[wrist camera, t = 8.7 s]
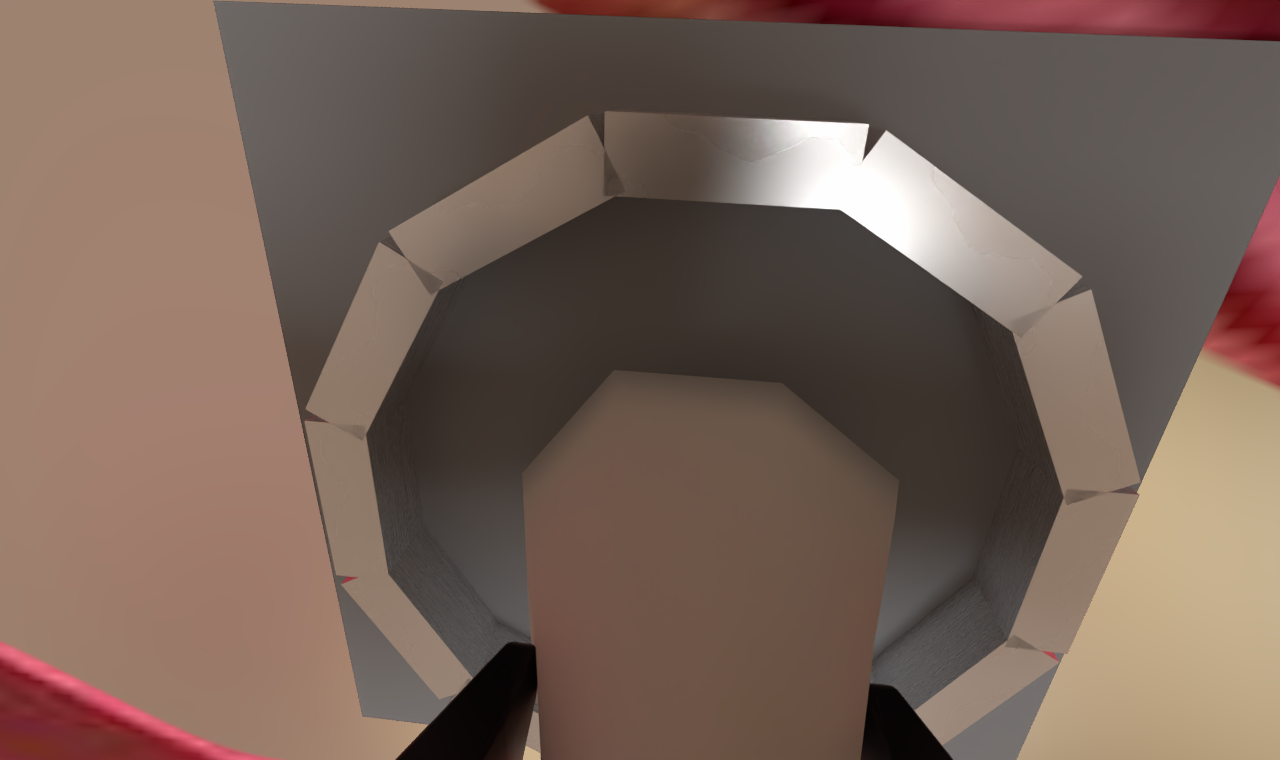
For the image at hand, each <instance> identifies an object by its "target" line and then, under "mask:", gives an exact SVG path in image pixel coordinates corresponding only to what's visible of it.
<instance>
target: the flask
mask: <svg viewBox="0 0 1280 760" xmlns="http://www.w3.org/2000/svg"><path fill="white" fill-rule="evenodd" d="M522 482H523V503H524V524H525V545H526V566H527V587H528V606H529V623H530V633H531V644H533V645H534V646H535V648H536V664H537V694H536V695H537V705H538V716H539V732H540V751H541V760H861V751H862V743H863V734H864V726H865V718H866V709H867V701H868V692H869V684H870V675H871V667H872V659H873V650H874V642H875V636H876V630H877V624H878V618H879V612H880V606H881V600H882V593H883V587H884V581H885V575H886V569H887V563H888V557H889V551H890V545H891V539H892V533H893V527H894V521H895V513H896V504H897V496H898V487H899V480H898V479H897V478H895V477H894V476H893V475H892V474H891V473H889V472H888V471H887V470H886V469H885V468H883V467H882V466H881V465H880V464H879V463H877V462H876V461H875V460H874V459H873V458H871V457H870V456H869V455H868V454H867V453H865V452H864V451H863V450H862V449H861V448H859V447H858V446H857V445H856V444H855V443H853V442H852V441H851V440H850V439H849V438H847V437H846V436H845V435H844V434H843V433H841V432H840V431H839V430H838V429H837V428H835V427H834V426H833V425H832V424H831V423H829V422H828V421H827V420H826V419H825V418H823V417H822V416H821V415H820V414H819V413H817V412H816V411H815V410H814V409H813V408H811V407H810V406H809V405H808V404H807V403H805V402H804V401H803V400H802V399H801V398H799V397H798V396H797V395H796V394H795V393H793V392H792V391H791V390H790V389H789V388H787V387H786V386H785V385H784V384H783V383H776V382H763V381H750V380H738V379H725V378H712V377H699V376H686V375H673V374H660V373H648V372H635V371H622V370H614V371H613V372H612V373H611V374H610V375H609V376H608V377H607V378H606V380H605V381H604V382H603V383H602V384H601V385H600V386H599V387H598V389H597V390H596V391H595V392H594V393H593V394H592V395H591V396H590V398H589V399H588V400H587V401H586V402H585V403H584V404H583V405H582V406H581V408H580V409H579V410H578V411H577V412H576V413H575V414H574V415H573V417H572V418H571V419H570V420H569V421H568V422H567V423H566V424H565V426H564V427H563V428H562V429H561V430H560V431H559V432H558V433H557V435H556V436H555V437H554V438H553V439H552V440H551V441H550V442H549V443H548V445H547V446H546V447H545V448H544V449H543V450H542V451H541V452H540V454H539V455H538V456H537V457H536V458H535V459H534V460H533V461H532V463H531V464H530V465H529V466H528V467H527V468H526V469H525V470H524V472H523V473H522Z"/></svg>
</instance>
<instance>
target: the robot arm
mask: <svg viewBox="0 0 1280 760" xmlns="http://www.w3.org/2000/svg"><path fill="white" fill-rule="evenodd" d="M536 694H537V664H536V648H535V646H534V645H533V644H531V643H523V642H514V641H512V642H508V643H507V644H505V645H504V646H503V647H502V648H501V649H500V650H499V651H498V653H497V654H496V655H495V656H494V657H493V658H492V659H491V660H490V661H489V662H488V663H487V664H486V665H485V666H484V667H483V668H482V669H481V670H480V671H479V673H478V674H477V675H476V676H475V677H474V678H473V679H472V680H471V681H470V682H469V683H468V684H467V685H466V686H465V687H464V688H463V689H462V690H461V691H460V692H459V694H458V695H457V696H456V697H455V698H454V699H453V700H452V701H451V702H450V703H449V704H448V705H447V706H446V707H445V708H444V709H443V710H442V711H441V712H440V713H439V715H438V716H437V717H436V718H435V719H434V720H433V721H432V722H431V723H430V724H429V725H428V726H427V727H426V728H425V729H424V730H423V731H422V732H421V733H420V734H419V736H418V737H417V738H416V739H415V740H414V741H413V742H412V743H411V744H410V745H409V746H408V747H407V748H406V749H405V750H404V751H403V752H402V753H401V755H399V757H398V758H397V759H396V760H523V755H524V750H525V746H526V741H527V737H528V732H529V728H530V723H531V718H532V714H533V709H534V705H535V700H536ZM861 760H954V759H953V758H952V757H951V756H950V754H949V753H948V752H947V751H946V750H945V748H944V747H943V746H942V745H941V743H940V742H939V741H938V740H937V738H936V737H935V736H934V735H933V733H932V732H931V731H930V730H929V728H928V727H927V726H926V725H925V723H924V722H923V721H922V720H921V718H920V717H919V716H918V715H917V713H916V712H915V711H914V710H913V708H912V707H911V706H910V705H909V703H908V702H907V701H906V700H905V698H904V697H903V696H902V695H901V693H900V692H899V691H898V690H897V689H896V688H895V687H893V686H890V685H884V684H876V683H870V684H869V692H868V701H867V709H866V718H865V726H864V734H863V743H862V751H861Z"/></svg>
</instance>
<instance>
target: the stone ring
mask: <svg viewBox="0 0 1280 760" xmlns="http://www.w3.org/2000/svg"><path fill="white" fill-rule="evenodd" d="M615 196H619V197H636V198H653V199H670V200H686V201H703V202H720V203H737V204H754V205H770V206H787V207H804V208H821V209H838V210H842V211H843V212H845V213H846V214H848V215H849V216H850V217H852V218H853V219H855V220H856V221H858V222H859V223H860V224H862V225H863V226H865V227H866V228H867V229H869V230H870V231H872V232H873V233H874V234H876V235H877V236H879V237H880V238H881V239H883V240H884V241H886V242H887V243H888V244H890V245H891V246H893V247H894V248H895V249H897V250H898V251H900V252H901V253H902V254H904V255H905V256H907V257H908V258H910V259H911V260H912V261H914V262H915V263H917V264H918V265H919V266H921V267H922V268H924V269H925V270H926V271H928V272H929V273H931V274H932V275H933V276H935V277H936V278H938V279H939V280H940V281H942V282H943V283H945V284H946V285H947V286H949V287H950V288H952V289H953V290H954V291H956V292H957V293H959V294H960V295H961V296H963V297H964V298H966V299H967V300H969V301H970V304H971V307H972V310H973V313H974V316H975V319H976V322H977V325H978V328H979V331H980V334H981V337H982V340H983V343H984V346H985V349H986V352H987V355H988V358H989V361H990V364H991V367H992V370H993V373H994V376H995V379H996V382H997V385H998V388H999V391H1000V394H1001V397H1002V400H1003V403H1004V407H1005V410H1006V413H1007V416H1008V419H1009V422H1010V425H1011V428H1012V431H1013V434H1014V437H1015V440H1016V443H1017V449H1016V452H1015V455H1014V458H1013V461H1012V463H1011V466H1010V469H1009V472H1008V475H1007V478H1006V481H1005V484H1004V487H1003V490H1002V493H1001V496H1000V498H999V501H998V504H997V507H996V510H995V513H994V516H993V519H992V522H991V525H990V528H989V531H988V534H987V536H986V539H985V542H984V545H983V548H982V551H981V554H980V557H979V560H978V563H977V566H976V569H975V571H974V574H973V577H972V578H971V579H970V580H969V581H967V582H966V583H965V584H964V585H963V586H961V587H960V588H959V589H958V590H957V591H955V592H954V593H953V594H952V595H951V596H949V597H948V598H947V599H946V600H945V601H943V602H942V603H941V604H940V605H939V606H937V607H936V608H935V609H934V610H933V611H931V612H930V613H929V614H928V615H926V616H925V617H924V618H923V619H922V620H920V621H919V622H918V623H917V624H916V625H914V626H913V627H912V628H911V629H910V630H908V631H907V632H906V633H905V634H904V635H902V636H901V637H900V638H899V639H898V640H896V641H895V642H894V643H893V644H892V645H890V646H889V647H888V648H887V649H886V650H884V651H883V652H882V653H881V654H880V655H878V656H877V657H876V658H875V659H874V660H872V667H871V675H870V683H876V684H884V685H890V686H893V687H895V688H896V689H897V690H898V691H899V692H900V693H901V695H902V696H903V697H904V698H905V700H906V701H907V702H908V703H909V705H910V706H911V707H912V708H913V710H914V711H915V712H916V713H917V715H918V716H919V717H920V718H921V720H922V721H923V722H924V723H925V725H926V726H927V727H928V728H929V730H930V731H931V732H932V733H933V735H934V736H935V737H936V738H937V740H938V741H939V742H940V743H941V745H944V744H945V743H946V742H948V741H949V740H951V739H952V738H953V737H955V736H956V735H958V734H959V733H961V732H962V731H963V730H965V729H966V728H968V727H969V726H970V725H972V724H973V723H975V722H976V721H978V720H979V719H980V718H982V717H983V716H985V715H986V714H987V713H989V712H990V711H992V710H993V709H995V708H996V707H997V706H999V705H1000V704H1002V703H1003V702H1004V701H1006V700H1007V699H1009V698H1010V697H1012V696H1013V695H1014V694H1016V693H1017V692H1019V691H1020V690H1021V689H1023V688H1024V687H1026V686H1027V685H1028V684H1030V683H1031V682H1033V681H1034V680H1036V679H1037V678H1038V677H1040V676H1041V675H1043V674H1044V673H1045V672H1047V671H1048V670H1050V669H1051V668H1053V667H1054V666H1055V665H1057V664H1058V663H1060V662H1059V661H1058V659H1057V657H1056V656H1055V654H1054V653H1053V652H1056V653H1066V654H1067V653H1068V651H1069V649H1070V647H1071V645H1072V642H1073V640H1074V638H1075V636H1076V633H1077V631H1078V629H1079V627H1080V625H1081V623H1082V620H1083V618H1084V616H1085V614H1086V611H1087V609H1088V607H1089V605H1090V603H1091V601H1092V598H1093V596H1094V594H1095V592H1096V590H1097V587H1098V585H1099V583H1100V581H1101V578H1102V576H1103V574H1104V572H1105V570H1106V568H1107V565H1108V563H1109V561H1110V559H1111V556H1112V554H1113V552H1114V550H1115V547H1116V545H1117V543H1118V541H1119V539H1120V537H1121V534H1122V532H1123V530H1124V528H1125V526H1126V523H1127V521H1128V519H1129V517H1130V515H1131V512H1132V510H1133V508H1134V506H1135V504H1136V501H1137V499H1138V497H1139V494H1138V493H1137V492H1136V491H1134V490H1133V489H1132V488H1131V487H1130V486H1131V485H1134V484H1137V483H1140V482H1141V481H1140V477H1139V473H1138V469H1137V465H1136V462H1135V458H1134V454H1133V450H1132V446H1131V442H1130V438H1129V434H1128V430H1127V426H1126V423H1125V419H1124V415H1123V411H1122V407H1121V403H1120V399H1119V395H1118V391H1117V387H1116V384H1115V380H1114V376H1113V372H1112V368H1111V364H1110V360H1109V356H1108V352H1107V348H1106V344H1105V341H1104V337H1103V333H1102V329H1101V325H1100V321H1099V317H1098V313H1097V309H1096V305H1095V302H1094V298H1093V294H1092V290H1091V289H1090V288H1088V287H1086V286H1084V285H1082V284H1080V283H1077V282H1078V281H1079V280H1080V279H1081V278H1082V277H1083V276H1081V275H1080V274H1079V273H1077V272H1076V271H1075V270H1073V269H1072V268H1071V267H1069V266H1068V265H1067V264H1065V263H1064V262H1063V261H1061V260H1060V259H1059V258H1057V257H1056V256H1055V255H1053V254H1052V253H1050V252H1049V251H1048V250H1046V249H1045V248H1044V247H1042V246H1041V245H1040V244H1038V243H1037V242H1036V241H1034V240H1033V239H1032V238H1030V237H1029V236H1028V235H1026V234H1025V233H1024V232H1022V231H1021V230H1020V229H1018V228H1017V227H1016V226H1014V225H1013V224H1012V223H1010V222H1009V221H1008V220H1006V219H1005V218H1004V217H1002V216H1001V215H999V214H998V213H997V212H995V211H994V210H993V209H991V208H990V207H989V206H987V205H986V204H985V203H983V202H982V201H981V200H979V199H978V198H977V197H975V196H974V195H973V194H971V193H970V192H969V191H967V190H966V189H965V188H963V187H962V186H961V185H959V184H958V183H957V182H955V181H954V180H953V179H951V178H950V177H949V176H947V175H946V174H944V173H943V172H942V171H940V170H939V169H938V168H936V167H935V166H934V165H932V164H931V163H930V162H928V161H927V160H926V159H924V158H923V157H922V156H920V155H919V154H918V153H916V152H915V151H914V150H912V149H911V148H910V147H908V146H907V145H906V144H904V143H903V142H902V141H900V140H899V139H898V138H896V137H895V136H893V135H892V134H891V133H889V132H888V131H887V130H882V129H876V128H869V124H864V123H857V122H850V121H843V120H822V119H802V118H782V117H761V116H741V115H721V114H700V113H680V112H660V111H639V110H611V111H605V113H603V114H594V115H587V116H586V117H584V118H582V119H580V120H579V121H577V122H575V123H574V124H572V125H570V126H568V127H567V128H565V129H563V130H562V131H560V132H558V133H556V134H555V135H553V136H551V137H549V138H548V139H546V140H544V141H543V142H541V143H539V144H537V145H536V146H534V147H532V148H531V149H529V150H527V151H525V152H524V153H522V154H520V155H519V156H517V157H515V158H513V159H512V160H510V161H508V162H507V163H505V164H503V165H501V166H500V167H498V168H496V169H494V170H493V171H491V172H489V173H488V174H486V175H484V176H482V177H481V178H479V179H477V180H476V181H474V182H472V183H470V184H469V185H467V186H465V187H464V188H462V189H460V190H458V191H457V192H455V193H453V194H452V195H450V196H448V197H446V198H445V199H443V200H441V201H439V202H438V203H436V204H434V205H433V206H431V207H429V208H427V209H426V210H424V211H422V212H421V213H419V214H417V215H415V216H414V217H412V218H410V219H409V220H407V221H405V222H403V223H402V224H400V225H398V226H397V227H395V228H393V229H391V230H390V231H389V233H390V234H391V237H389V238H387V239H384V240H382V241H380V242H379V243H378V245H377V247H376V250H375V252H374V254H373V257H372V259H371V261H370V263H369V266H368V268H367V270H366V272H365V275H364V277H363V279H362V282H361V284H360V286H359V288H358V291H357V293H356V295H355V297H354V300H353V302H352V304H351V306H350V309H349V311H348V313H347V316H346V318H345V320H344V322H343V325H342V327H341V329H340V331H339V334H338V336H337V338H336V341H335V343H334V345H333V347H332V350H331V352H330V354H329V356H328V359H327V361H326V363H325V365H324V368H323V370H322V372H321V375H320V377H319V379H318V381H317V384H316V386H315V388H314V390H313V393H312V395H311V397H310V400H309V402H308V404H307V406H306V410H308V411H309V412H311V413H313V414H312V415H311V416H309V417H308V418H307V419H306V420H304V422H305V427H306V432H307V436H308V441H309V446H310V451H311V456H312V461H313V466H314V470H315V475H316V480H317V485H318V490H319V495H320V500H321V504H322V509H323V514H324V519H325V524H326V529H327V534H328V538H329V543H330V548H331V553H332V558H333V563H334V568H335V572H336V575H340V576H347V577H346V578H345V580H344V581H343V582H342V584H341V585H342V586H343V588H344V589H345V590H346V591H347V592H348V593H349V595H350V596H351V597H352V598H353V599H354V600H355V602H356V603H357V604H358V605H359V606H360V607H361V609H362V610H363V611H364V612H365V613H366V614H367V616H368V617H369V618H370V619H371V620H372V621H373V623H374V624H375V625H376V626H377V627H378V628H379V630H380V631H381V632H382V633H383V634H384V636H385V637H386V638H387V639H388V640H389V641H390V643H391V644H392V645H393V646H394V647H395V648H396V650H397V651H398V652H399V653H400V654H401V655H402V657H403V658H404V659H405V660H406V661H407V662H408V664H409V665H410V666H411V667H412V668H413V669H414V671H415V672H416V673H417V674H418V675H419V677H420V678H421V679H422V680H423V681H424V682H425V684H426V685H427V686H428V687H429V688H430V689H431V691H432V692H433V693H434V694H435V695H436V696H437V698H438V699H442V698H445V697H448V696H451V695H452V696H451V698H450V700H449V703H450V702H451V701H452V700H453V699H454V698H455V697H456V696H457V695H458V694H459V692H460V691H461V690H462V689H463V688H464V687H465V686H466V685H467V684H468V683H469V682H470V681H471V680H472V679H473V678H474V677H475V676H476V675H477V674H478V673H479V671H480V670H481V669H482V668H483V667H484V666H485V665H486V664H487V663H488V662H489V661H490V660H491V659H492V658H493V657H494V656H495V655H496V654H497V653H498V651H499V650H500V649H501V648H502V647H503V646H504V645H505V644H507V643H508V642H512V641H514V642H523V643H531V639H530V638H528V637H526V636H524V635H522V634H520V633H519V632H517V631H515V630H513V629H511V628H509V627H507V626H505V625H504V624H502V623H500V622H499V621H498V620H497V619H496V617H495V616H494V615H493V613H492V612H491V611H490V609H489V608H488V607H487V605H486V604H485V603H484V601H483V600H482V599H481V598H480V596H479V595H478V594H477V592H476V591H475V590H474V588H473V587H472V586H471V584H470V583H469V582H468V580H467V579H466V578H465V576H464V575H463V574H462V573H461V571H460V570H459V569H458V567H457V566H456V565H455V563H454V562H453V561H452V559H451V558H450V557H449V555H448V554H447V553H446V551H445V550H444V549H443V548H442V546H441V545H440V544H439V542H438V541H437V540H436V538H435V537H434V536H433V534H432V533H431V532H430V530H429V529H428V528H427V526H426V525H425V524H424V523H423V516H422V508H421V500H420V492H419V484H418V476H417V468H416V460H415V452H414V444H413V436H412V428H411V420H410V412H409V404H408V396H407V394H408V392H409V390H410V388H411V386H412V384H413V382H414V380H415V378H416V376H417V375H418V373H419V371H420V369H421V367H422V365H423V363H424V361H425V359H426V357H427V355H428V354H429V352H430V350H431V348H432V346H433V344H434V342H435V340H436V338H437V336H438V334H439V333H440V331H441V329H442V327H443V325H444V323H445V321H446V319H447V317H448V315H449V313H450V311H451V310H452V308H453V306H454V304H455V302H456V300H457V298H458V296H459V294H460V292H461V290H462V289H463V287H464V285H465V283H466V281H467V279H468V277H469V275H470V273H472V272H474V271H476V270H478V269H480V268H482V267H483V266H485V265H487V264H489V263H491V262H493V261H495V260H497V259H498V258H500V257H502V256H504V255H506V254H508V253H510V252H512V251H513V250H515V249H517V248H519V247H521V246H523V245H525V244H527V243H528V242H530V241H532V240H534V239H536V238H538V237H540V236H542V235H543V234H545V233H547V232H549V231H551V230H553V229H555V228H557V227H558V226H560V225H562V224H564V223H566V222H568V221H570V220H572V219H573V218H575V217H577V216H579V215H581V214H583V213H585V212H587V211H588V210H590V209H592V208H594V207H596V206H598V205H600V204H602V203H603V202H605V201H607V200H609V199H611V198H613V197H615ZM449 703H448V704H449ZM526 746H528V747H530V748H532V749H534V750H536V751H538V752H540V753H541V751H540V732H539V716H538V705H537V695H536V700H535V705H534V709H533V714H532V718H531V723H530V728H529V732H528V737H527V741H526Z"/></svg>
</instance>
